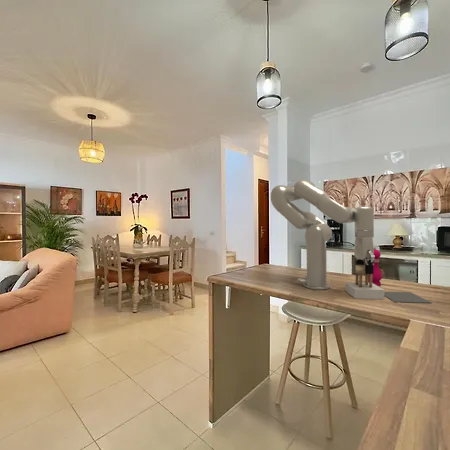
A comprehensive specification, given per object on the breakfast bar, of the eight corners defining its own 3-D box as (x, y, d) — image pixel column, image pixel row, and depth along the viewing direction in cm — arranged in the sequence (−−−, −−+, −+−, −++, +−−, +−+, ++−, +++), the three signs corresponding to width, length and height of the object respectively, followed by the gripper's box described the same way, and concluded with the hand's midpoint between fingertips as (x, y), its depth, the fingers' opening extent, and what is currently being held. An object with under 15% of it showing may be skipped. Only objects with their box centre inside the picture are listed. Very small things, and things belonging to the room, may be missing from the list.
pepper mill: (384, 286, 128) (384, 247, 127) (368, 286, 129) (368, 247, 129) (378, 283, 135) (378, 245, 134) (363, 282, 136) (363, 245, 136)
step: (354, 298, 110) (354, 289, 110) (345, 290, 122) (345, 282, 122) (384, 299, 109) (384, 289, 109) (371, 291, 121) (371, 282, 121)
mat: (394, 302, 105) (394, 301, 105) (378, 292, 119) (378, 291, 119) (431, 303, 103) (431, 302, 103) (410, 293, 117) (410, 292, 117)
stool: (358, 287, 113) (358, 267, 112) (353, 283, 119) (353, 264, 119) (374, 288, 112) (374, 267, 112) (368, 284, 118) (368, 264, 118)
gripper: (348, 233, 124) (349, 268, 124) (363, 235, 107) (363, 275, 107) (364, 232, 123) (365, 268, 123) (382, 235, 106) (382, 276, 106)
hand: (364, 271), depth 115 cm, fingers open, 9 cm apart
